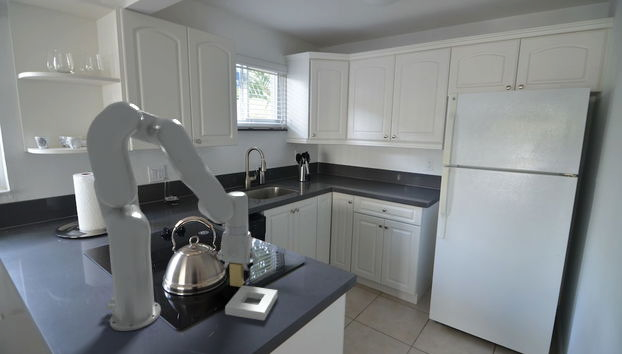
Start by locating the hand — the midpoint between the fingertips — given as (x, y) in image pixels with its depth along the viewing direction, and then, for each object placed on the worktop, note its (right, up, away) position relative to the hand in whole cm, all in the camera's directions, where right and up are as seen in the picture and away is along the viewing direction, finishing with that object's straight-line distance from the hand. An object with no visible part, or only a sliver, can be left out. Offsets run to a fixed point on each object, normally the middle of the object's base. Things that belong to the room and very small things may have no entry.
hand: (237, 277), depth 106 cm
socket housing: (+7, -4, -12) cm, 15 cm away
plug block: (0, -2, 0) cm, 2 cm away
